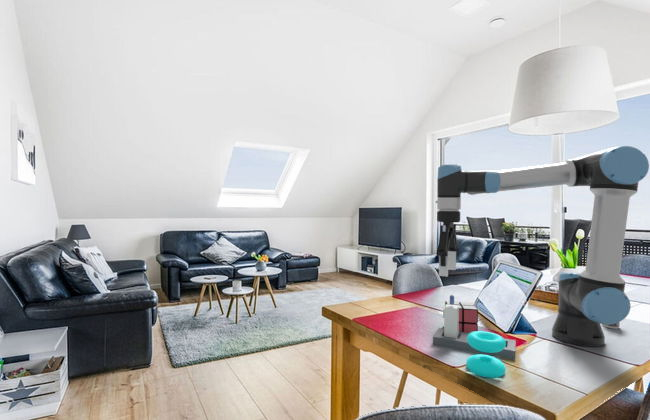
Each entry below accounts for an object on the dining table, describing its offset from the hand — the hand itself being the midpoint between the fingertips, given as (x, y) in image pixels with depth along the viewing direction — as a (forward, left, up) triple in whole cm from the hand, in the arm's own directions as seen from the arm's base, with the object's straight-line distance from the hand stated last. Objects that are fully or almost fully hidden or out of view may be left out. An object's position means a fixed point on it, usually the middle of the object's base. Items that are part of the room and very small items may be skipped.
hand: (447, 272), depth 125 cm
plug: (-2, +2, -23) cm, 23 cm away
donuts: (-14, +19, -23) cm, 33 cm away
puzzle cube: (-3, -12, -24) cm, 26 cm away
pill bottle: (-53, -47, -23) cm, 75 cm away
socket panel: (-9, +2, -23) cm, 25 cm away
